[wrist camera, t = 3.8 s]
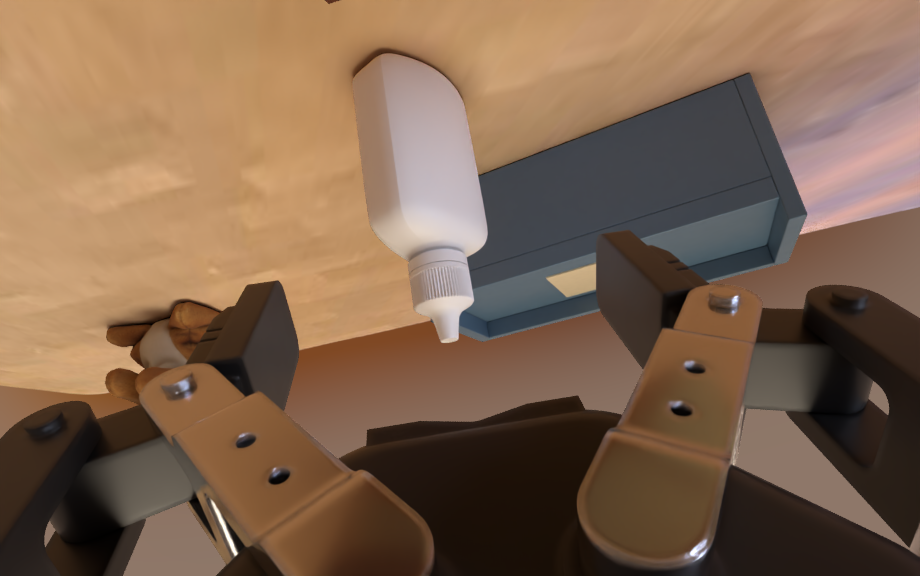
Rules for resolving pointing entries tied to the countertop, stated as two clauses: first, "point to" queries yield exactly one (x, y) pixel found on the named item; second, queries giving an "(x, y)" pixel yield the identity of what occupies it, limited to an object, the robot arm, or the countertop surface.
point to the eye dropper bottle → (421, 181)
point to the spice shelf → (633, 207)
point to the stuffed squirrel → (157, 347)
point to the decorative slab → (331, 1)
